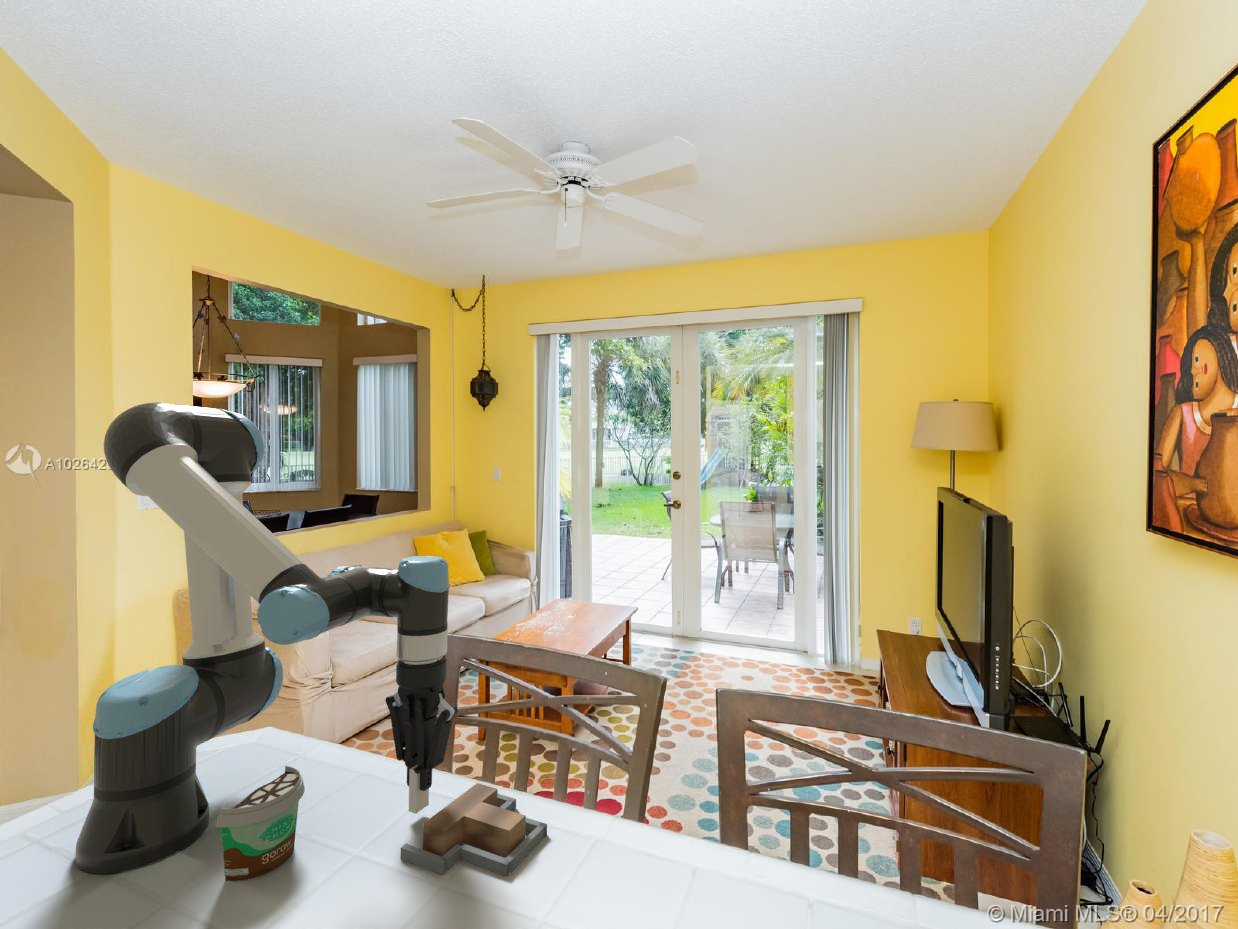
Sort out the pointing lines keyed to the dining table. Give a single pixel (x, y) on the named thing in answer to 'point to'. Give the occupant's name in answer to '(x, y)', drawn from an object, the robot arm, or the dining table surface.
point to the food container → (261, 828)
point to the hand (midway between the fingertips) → (418, 808)
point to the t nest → (476, 855)
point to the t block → (475, 824)
